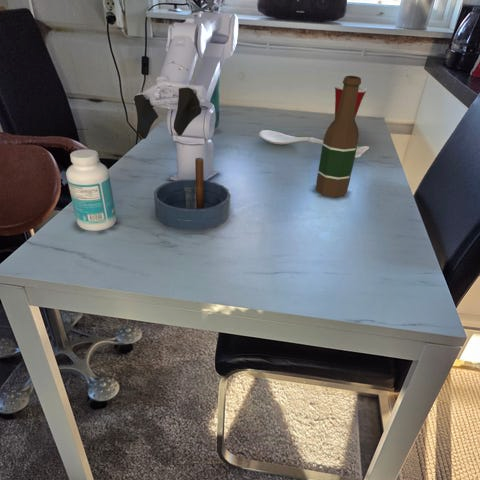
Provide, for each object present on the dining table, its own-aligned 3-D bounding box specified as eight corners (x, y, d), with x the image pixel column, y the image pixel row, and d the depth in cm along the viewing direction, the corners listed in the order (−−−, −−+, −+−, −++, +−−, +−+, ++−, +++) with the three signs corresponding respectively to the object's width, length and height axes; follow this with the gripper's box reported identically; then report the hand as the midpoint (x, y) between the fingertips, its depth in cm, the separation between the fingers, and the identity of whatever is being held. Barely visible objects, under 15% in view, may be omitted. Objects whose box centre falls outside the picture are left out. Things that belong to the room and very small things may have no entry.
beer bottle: (343, 185, 104) (366, 74, 89) (351, 199, 98) (377, 81, 83) (312, 184, 103) (329, 72, 88) (317, 198, 98) (337, 80, 82)
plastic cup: (365, 126, 146) (374, 87, 138) (347, 131, 140) (355, 91, 132) (340, 119, 151) (347, 81, 144) (321, 123, 145) (327, 84, 138)
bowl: (180, 193, 96) (179, 173, 93) (241, 208, 91) (242, 188, 88) (140, 220, 85) (138, 198, 82) (207, 238, 81) (207, 217, 78)
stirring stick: (198, 204, 91) (197, 157, 84) (205, 206, 90) (204, 158, 84) (194, 207, 90) (193, 159, 83) (201, 208, 89) (200, 161, 83)
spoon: (357, 166, 115) (360, 153, 112) (253, 143, 126) (254, 130, 124) (367, 157, 121) (370, 145, 119) (267, 135, 132) (268, 124, 130)
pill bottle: (101, 211, 87) (89, 143, 79) (124, 223, 84) (115, 153, 75) (69, 223, 83) (53, 153, 74) (92, 236, 79) (78, 164, 71)
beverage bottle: (195, 128, 134) (193, 55, 122) (214, 127, 137) (215, 54, 124) (202, 134, 130) (202, 59, 117) (222, 133, 132) (224, 58, 120)
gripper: (133, 63, 81) (113, 120, 77) (202, 51, 75) (184, 112, 72) (151, 93, 87) (134, 147, 83) (216, 84, 82) (201, 142, 78)
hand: (159, 133), depth 78 cm, fingers open, 7 cm apart
